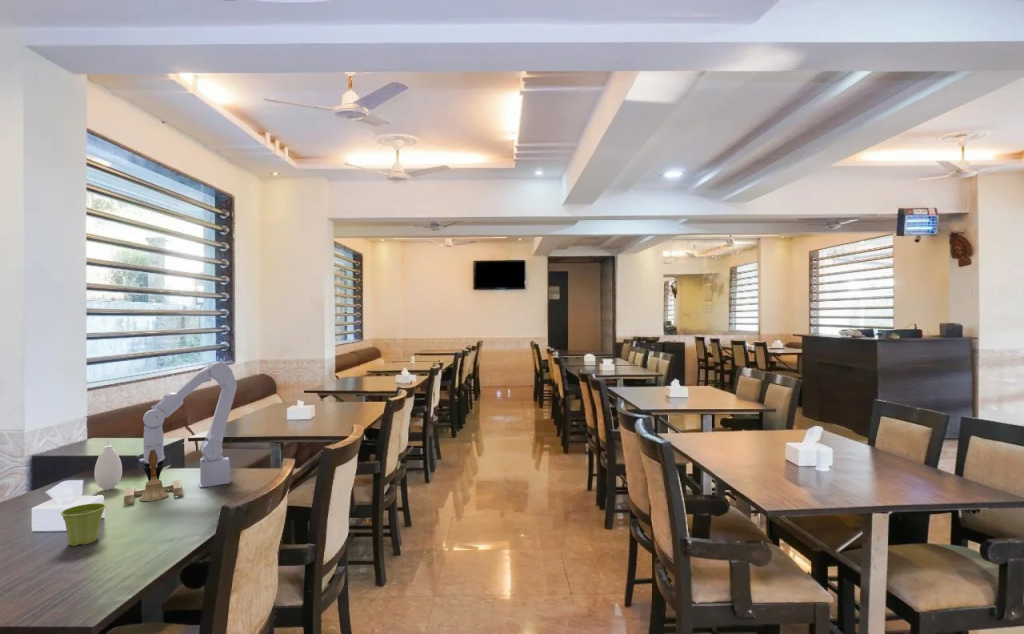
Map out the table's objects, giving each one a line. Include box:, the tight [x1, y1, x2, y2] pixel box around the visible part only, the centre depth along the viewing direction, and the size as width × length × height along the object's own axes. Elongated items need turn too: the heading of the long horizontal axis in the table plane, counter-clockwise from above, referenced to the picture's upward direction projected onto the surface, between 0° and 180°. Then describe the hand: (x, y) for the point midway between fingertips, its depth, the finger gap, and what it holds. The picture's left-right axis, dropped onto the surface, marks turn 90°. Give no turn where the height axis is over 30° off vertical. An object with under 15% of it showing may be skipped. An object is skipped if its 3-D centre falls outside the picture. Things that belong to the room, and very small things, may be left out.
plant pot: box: [60, 502, 107, 547], centre depth 144 cm, size 9×9×9 cm
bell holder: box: [123, 479, 184, 506], centre depth 183 cm, size 16×11×3 cm
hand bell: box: [138, 450, 169, 502], centre depth 182 cm, size 8×8×16 cm
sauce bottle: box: [93, 438, 123, 491], centre depth 193 cm, size 8×8×18 cm
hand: (153, 484), depth 188 cm, fingers open, 6 cm apart
